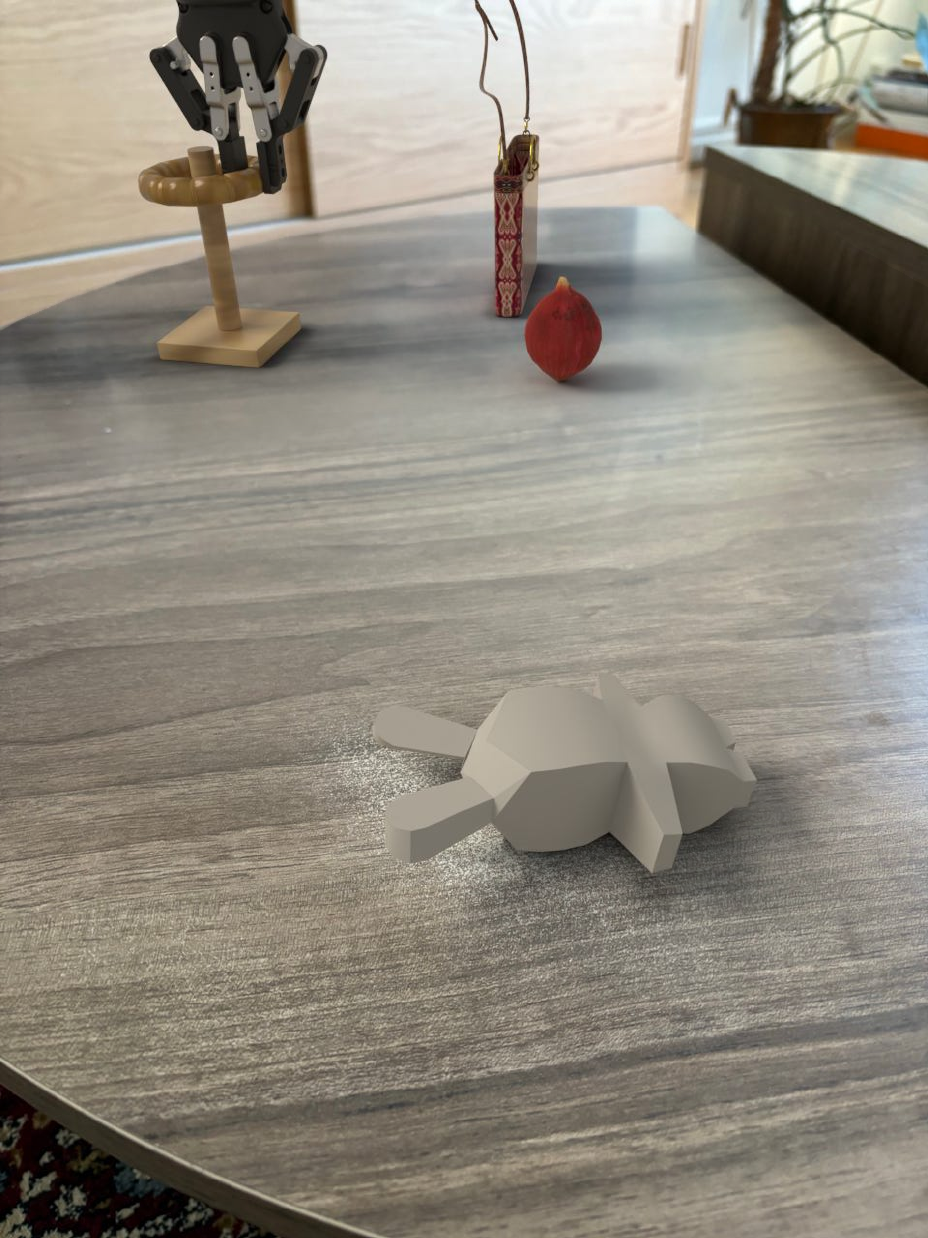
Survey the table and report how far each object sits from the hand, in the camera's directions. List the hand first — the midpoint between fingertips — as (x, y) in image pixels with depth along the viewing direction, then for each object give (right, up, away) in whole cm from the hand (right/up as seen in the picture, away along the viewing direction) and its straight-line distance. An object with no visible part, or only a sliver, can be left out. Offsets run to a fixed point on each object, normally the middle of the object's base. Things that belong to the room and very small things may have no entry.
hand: (256, 189), depth 77 cm
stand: (-4, -10, +8) cm, 13 cm away
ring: (-4, +1, +1) cm, 4 cm away
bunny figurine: (+20, -42, -35) cm, 58 cm away
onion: (+24, -15, +1) cm, 28 cm away
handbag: (+20, -1, +20) cm, 28 cm away
